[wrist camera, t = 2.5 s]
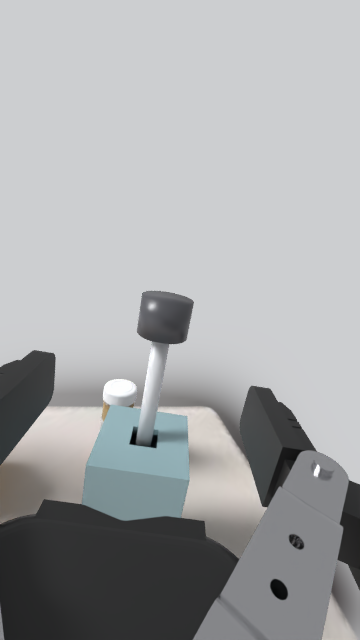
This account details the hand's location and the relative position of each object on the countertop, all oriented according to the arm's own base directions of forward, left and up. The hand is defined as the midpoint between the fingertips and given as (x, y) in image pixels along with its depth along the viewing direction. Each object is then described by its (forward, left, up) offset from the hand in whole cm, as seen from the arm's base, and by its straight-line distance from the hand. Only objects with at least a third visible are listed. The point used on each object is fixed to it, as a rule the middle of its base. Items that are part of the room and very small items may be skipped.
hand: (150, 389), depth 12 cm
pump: (-10, +8, -13) cm, 18 cm away
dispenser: (-9, +7, -29) cm, 31 cm away
